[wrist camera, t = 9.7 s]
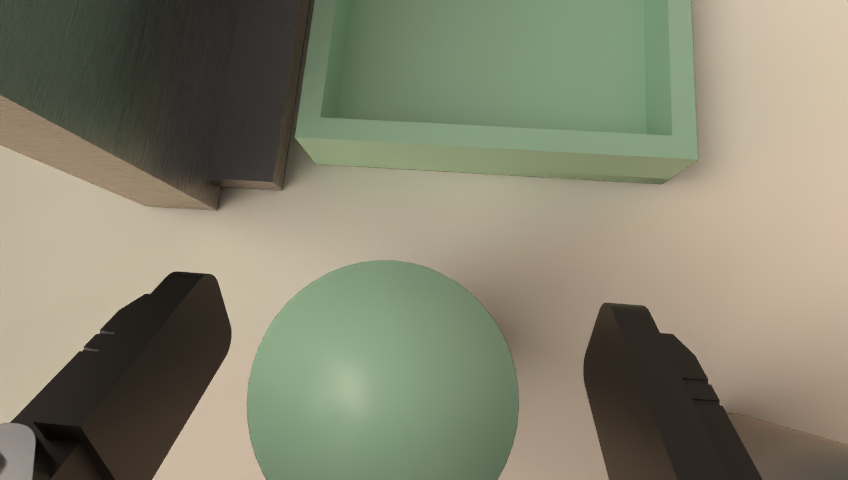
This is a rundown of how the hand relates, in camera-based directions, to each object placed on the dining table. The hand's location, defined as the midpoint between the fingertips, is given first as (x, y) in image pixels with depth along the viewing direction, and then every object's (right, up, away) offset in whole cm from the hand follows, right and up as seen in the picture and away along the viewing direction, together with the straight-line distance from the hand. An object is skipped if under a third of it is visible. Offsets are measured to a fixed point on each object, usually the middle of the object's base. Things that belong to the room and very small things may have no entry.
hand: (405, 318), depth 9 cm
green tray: (+3, +11, +9) cm, 15 cm away
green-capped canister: (0, -3, +7) cm, 7 cm away
